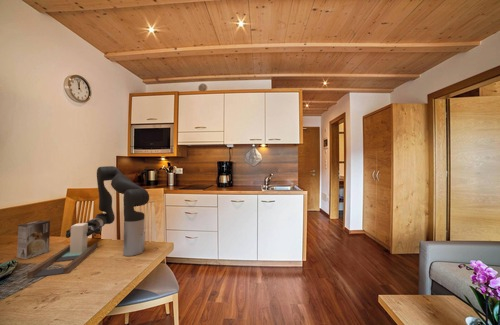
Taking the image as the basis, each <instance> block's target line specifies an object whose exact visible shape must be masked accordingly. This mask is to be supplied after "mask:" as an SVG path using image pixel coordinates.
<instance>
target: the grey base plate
mask: <svg viewBox="0 0 500 325" xmlns="http://www.w3.org/2000/svg"><path fill="white" fill-rule="evenodd" d="M77 257H78V256H69V257H60V258H59V259H57V260H56V261H55V262H54V263H59V262H71V261H73V260H74V259H75V258H77ZM63 270H64V267H59V268H49V269H44V270H42V271H40V272H39V273H37V274H36V275H34V276H33V278H40V277H49V276H56V275H57V276H58V275H64V274H63Z"/></svg>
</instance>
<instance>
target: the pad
mask: <svg viewBox="0 0 500 325" xmlns="http://www.w3.org/2000/svg"><path fill="white" fill-rule="evenodd" d="M89 247H90V246H89ZM89 247H88V246H87V249H88V248H89ZM87 249H86V250H87ZM80 254H82V253H78V254H70V251H69V252H67V253H66V254H65V255H63V256H62V257H69V256H79V255H80Z"/></svg>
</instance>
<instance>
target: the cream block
mask: <svg viewBox="0 0 500 325" xmlns="http://www.w3.org/2000/svg"><path fill="white" fill-rule="evenodd" d="M70 229H71V236H70V237H69V240H70V243H69V245H70V254H78V253H83V252H84V251H85V250H86V249H87V248H88V236H87V232H88V223H86V222H79V223H75V224H73V225H71V226H70Z"/></svg>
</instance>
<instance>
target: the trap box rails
mask: <svg viewBox="0 0 500 325" xmlns="http://www.w3.org/2000/svg"><path fill="white" fill-rule="evenodd" d="M87 248H88V247H87ZM96 248H97V249H98V248H99V242H94V243H93V244H92V245H90V246H89V248H88V249H87V250H85V251H84V252H83V253H82V254H80V255H79V256H78V257H77V258H75V259H74V260H71V261H69V263H68V264H67V265H65V266H63V268H64V270H63V274H62V275H66V274H69V273H71V271H73V270H74V269H75V268H76V267H77V266H78V265H80V264H81V263H82V262H83V261H84V260H86V259H87V257H89V256H90V255H91V254H92V253H94V251H96V250H97V249H96ZM95 249H96V250H95ZM69 251H70V244H68V245H67V246H65V247H64V248H63V249H61V250H59V251H58V252H57V253H55V254H53V255H52V256H50V257H48V258H47V259H45V260H44V261H42V262H41V263H39V264H37V265H36V266H35V267H33V268H32V269H29V270H28V271H27V273H26V274H27V276H26V277H27V279H32V278H34V277H33V276H34V275H36V274H37V273H39V272H40V271H42V270H46V269H47V268H48V267H50V266H51V265H53V264H54V263H56V262H55V261H56V260H57V259H59V258H60V257H62V256H63V255H65V254H66V253H67V252H69Z"/></svg>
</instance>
